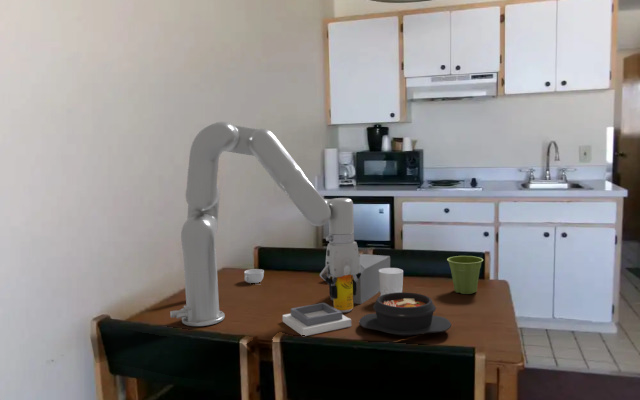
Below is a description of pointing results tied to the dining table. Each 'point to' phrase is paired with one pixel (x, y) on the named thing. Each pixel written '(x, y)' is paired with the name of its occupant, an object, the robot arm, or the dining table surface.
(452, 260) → the plant pot
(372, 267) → the grey rectangular block
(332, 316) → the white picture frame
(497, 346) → the dining table surface
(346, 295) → the beer can
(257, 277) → the teacup
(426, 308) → the casserole
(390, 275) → the white cup
